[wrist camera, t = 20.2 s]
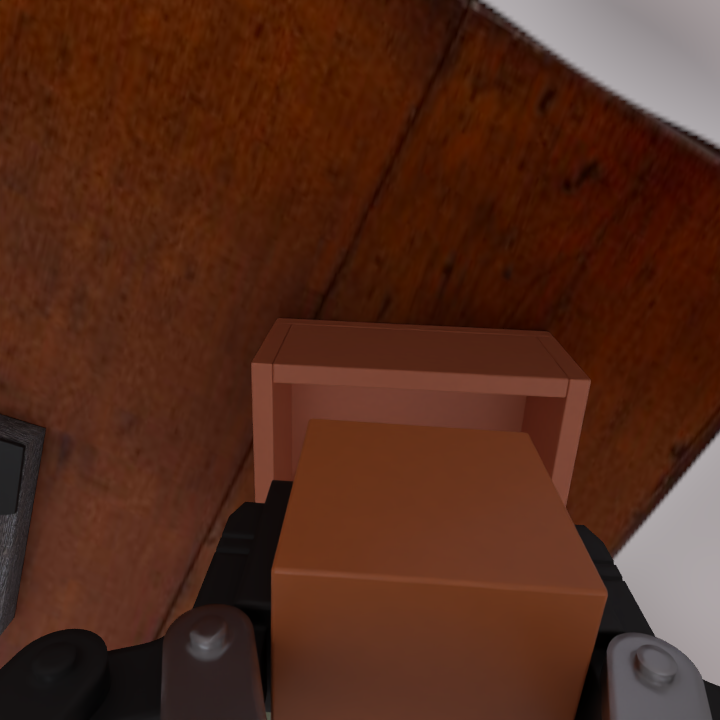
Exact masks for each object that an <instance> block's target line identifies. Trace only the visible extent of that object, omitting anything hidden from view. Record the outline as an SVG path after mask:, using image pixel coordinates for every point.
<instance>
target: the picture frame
mask: <svg viewBox="0 0 720 720" xmlns="http://www.w3.org/2000/svg"><path fill="white" fill-rule="evenodd" d="M45 430H46V428H43V427H40V426H36V425H33V424H30V423H27V422H24V421H20V420H17V419H14V418H11V417H7V416H4V415H1V414H0V635H1V634H2V633H3V631H4V630H5V629H6V627H7V626H8V625H9V624H10V622H11V621H12V620H13V618H14V615H15V609H16V603H17V597H18V591H19V585H20V579H21V574H22V568H23V562H24V556H25V550H26V544H27V538H28V532H29V526H30V520H31V514H32V508H33V502H34V496H35V490H36V484H37V478H38V472H39V466H40V460H41V454H42V448H43V442H44V436H45Z"/></svg>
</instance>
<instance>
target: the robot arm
mask: <svg viewBox="0 0 720 720" xmlns="http://www.w3.org/2000/svg"><path fill="white" fill-rule="evenodd" d="M292 485H293V481H283V480H272V482H271V485H270V488H269V491H268V495H267V498H266V501H265V503H253V502H245V503H244V504H242V505H241V506H240V507H239V508H238V509H237V510H236V511H235V512H234V513H233V514H231V515H230V516H229V518H228V521H227V523H226V526H225V528H224V531H223V533H222V538H221V539H220V541H219V544H218V546H217V549H216V552H215V554H214V556H213V559H212V561H211V564H210V566H209V569H208V571H207V574H206V576H205V579H204V581H203V584H202V586H201V589H200V591H199V594H198V597H197V599H196V602H195V604H194V607H193V609H191V610H189V611H187V612H185V613H184V614H182V615H181V616H179V617H178V618H177V619H176V620H175V621H174V622H173V623H172V624H171V625H170V627H169V628H168V630H167V632H166V634H165V636H164V637H162V638H160V639H157V640H154V641H152V642H149V643H145V644H141V645H136V646H131V647H126V648H121V649H116V650H111V651H107V647H106V645H105V642H104V641H103V640H102V638H101V637H100V636H98V635H97V634H95V633H93V632H91V631H87V630H83V629H66V630H61V631H57V632H53V633H50V634H47V635H45V636H43V637H40V638H39V639H37V640H35V641H33V642H31V643H30V644H29V645H27V646H26V647H24V648H23V649H22V650H21V651H19V652H18V653H17V654H16V655H15V656H14V657H13V658H12V659H11V660H10V661H9V662H8V663H7V664H5V665H4V666H3V667H2V668H1V669H0V720H267V717H266V712H271V569H272V565H273V561H274V557H275V553H276V549H277V545H278V541H279V537H280V533H281V529H282V525H283V521H284V517H285V513H286V509H287V505H288V501H289V497H290V493H291V489H292ZM575 527H576V529H577V531H578V533H579V535H580V537H581V539H582V541H583V543H584V545H585V547H586V549H587V551H588V553H589V555H590V557H591V559H592V561H593V563H594V565H595V567H596V569H597V571H598V573H599V575H600V577H601V579H602V581H603V583H604V585H605V587H606V589H607V592H608V597H607V601H606V604H605V608H604V612H603V615H602V619H601V623H600V627H599V630H598V634H597V638H596V641H595V645H594V649H593V653H592V656H591V660H590V664H589V668H588V671H587V675H586V679H585V682H584V686H583V690H582V694H581V697H580V701H579V705H578V709H577V712H576V716H575V720H720V686H717V685H715V684H712V683H709V682H707V681H705V680H703V679H702V676H701V674H700V673H699V671H698V669H697V668H696V667H695V665H694V664H693V662H691V660H690V659H689V658H688V657H687V656H686V655H685V654H683V653H682V652H681V651H680V650H678V649H677V648H676V647H674V646H672V645H671V644H669V643H667V642H666V641H663V640H661V639H659V638H657V637H655V635H654V633H653V632H652V630H651V628H650V626H649V625H648V623H647V621H646V619H645V617H644V616H643V614H642V612H641V610H640V608H639V606H638V605H637V603H636V601H635V599H634V597H633V595H632V594H631V592H630V590H629V588H628V586H627V584H626V583H625V581H623V580H622V576H621V574H620V572H619V570H618V568H617V566H616V565H614V561H613V559H612V557H611V556H610V554H609V552H608V550H607V548H606V547H605V545H604V543H603V542H602V541H601V540H600V539H599V538H598V537H597V536H595V535H594V534H593V533H592V532H591V531H590V530H589V529H588V528H587V527H585V526H584V525H575Z"/></svg>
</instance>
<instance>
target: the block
mask: <svg viewBox="0 0 720 720" xmlns="http://www.w3.org/2000/svg"><path fill="white" fill-rule="evenodd" d="M607 597H608V592H607V589H606V587H605V585H604V583H603V581H602V579H601V577H600V575H599V573H598V571H597V569H596V567H595V565H594V563H593V561H592V559H591V557H590V555H589V553H588V551H587V549H586V547H585V545H584V543H583V541H582V539H581V537H580V535H579V533H578V531H577V529H576V527H575V525H574V523H573V521H572V519H571V517H570V515H569V514H568V512H567V510H566V508H565V506H564V504H563V502H562V500H561V498H560V496H559V494H558V492H557V490H556V488H555V486H554V484H553V482H552V480H551V478H550V476H549V474H548V472H547V470H546V468H545V466H544V464H543V462H542V460H541V458H540V456H539V454H538V452H537V450H536V448H535V446H534V444H533V442H532V440H531V438H530V436H529V434H528V433H524V432H509V431H494V430H479V429H464V428H449V427H434V426H418V425H403V424H388V423H373V422H358V421H343V420H328V419H310V420H309V422H308V426H307V430H306V434H305V438H304V442H303V446H302V449H301V453H300V457H299V461H298V465H297V469H296V473H295V477H294V481H293V485H292V489H291V493H290V497H289V501H288V505H287V509H286V513H285V517H284V521H283V525H282V529H281V533H280V537H279V541H278V545H277V549H276V553H275V557H274V561H273V565H272V569H271V720H575V716H576V712H577V709H578V705H579V701H580V697H581V694H582V690H583V686H584V682H585V679H586V675H587V671H588V668H589V664H590V660H591V656H592V653H593V649H594V645H595V641H596V638H597V634H598V630H599V627H600V623H601V619H602V615H603V612H604V608H605V604H606V601H607Z"/></svg>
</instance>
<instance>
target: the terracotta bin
mask: <svg viewBox="0 0 720 720" xmlns="http://www.w3.org/2000/svg"><path fill="white" fill-rule="evenodd" d="M251 376H252V411H253V446H254V481H255V503H265V501H266V498H267V495H268V491H269V488H270V485H271V482H272V480H283V481H294V477H295V473H296V469H297V465H298V461H299V457H300V453H301V449H302V446H303V442H304V438H305V434H306V430H307V426H308V422H309V420H310V419H328V420H343V421H358V422H373V423H388V424H403V425H418V426H434V427H449V428H464V429H479V430H494V431H509V432H524V433H528V434H529V436H530V438H531V440H532V442H533V444H534V446H535V448H536V450H537V452H538V454H539V456H540V458H541V460H542V462H543V464H544V466H545V468H546V470H547V472H548V474H549V476H550V478H551V480H552V482H553V484H554V486H555V488H556V490H557V492H558V494H559V496H560V498H561V500H562V502H563V504H564V506H565V508H566V503H567V498H568V493H569V488H570V483H571V478H572V473H573V468H574V463H575V458H576V453H577V448H578V443H579V438H580V433H581V428H582V423H583V418H584V413H585V408H586V403H587V398H588V393H589V388H590V383H591V380H590V379H589V377H588V376H587V375H586V374H585V373H584V372H583V370H582V369H581V368H580V367H579V366H578V365H577V364H576V362H575V361H574V360H573V359H572V358H571V357H570V355H569V354H568V353H567V352H566V351H565V350H564V349H563V347H562V346H561V345H560V344H559V343H558V342H557V340H556V339H555V338H554V337H553V336H552V335H551V333H550V332H548V331H530V330H510V329H490V328H470V327H450V326H429V325H409V324H389V323H369V322H349V321H329V320H309V319H288V318H277V320H276V321H275V323H274V325H273V326H272V328H271V330H270V332H269V333H268V335H267V337H266V338H265V340H264V342H263V344H262V345H261V347H260V349H259V350H258V352H257V354H256V356H255V357H254V359H253V361H252V363H251Z"/></svg>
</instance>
